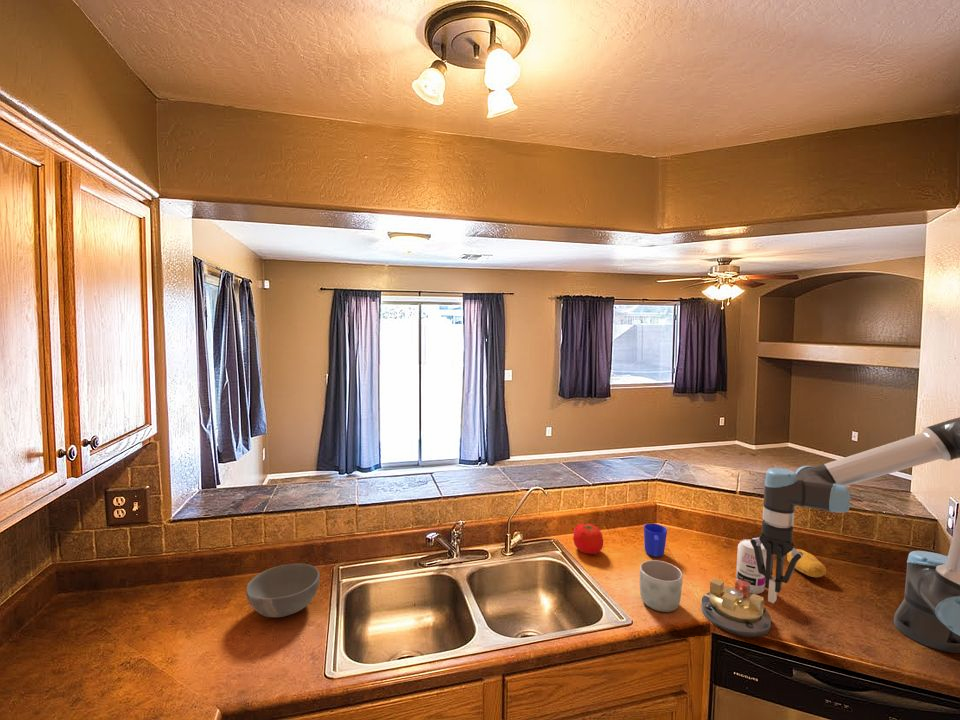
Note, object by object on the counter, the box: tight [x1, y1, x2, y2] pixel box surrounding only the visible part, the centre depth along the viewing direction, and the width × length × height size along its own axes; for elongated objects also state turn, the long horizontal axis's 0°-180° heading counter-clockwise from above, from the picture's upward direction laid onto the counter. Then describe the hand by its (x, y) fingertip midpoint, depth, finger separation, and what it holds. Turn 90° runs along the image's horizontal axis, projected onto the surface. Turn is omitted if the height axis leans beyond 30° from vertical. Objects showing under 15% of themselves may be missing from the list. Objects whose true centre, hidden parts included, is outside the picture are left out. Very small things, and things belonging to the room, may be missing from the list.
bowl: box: [245, 562, 320, 618], centre depth 136 cm, size 20×20×10 cm
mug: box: [643, 523, 668, 558], centre depth 171 cm, size 8×12×10 cm
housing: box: [700, 589, 772, 638], centre depth 136 cm, size 18×18×8 cm
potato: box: [786, 548, 827, 578], centre depth 160 cm, size 8×14×7 cm, turn 1°
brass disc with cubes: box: [709, 577, 765, 623], centre depth 136 cm, size 14×14×6 cm
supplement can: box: [735, 538, 767, 595], centre depth 150 cm, size 8×8×15 cm
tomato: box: [572, 522, 604, 555], centre depth 174 cm, size 11×13×10 cm
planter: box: [639, 559, 684, 613], centre depth 141 cm, size 12×12×11 cm
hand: (772, 600), depth 133 cm, fingers closed
